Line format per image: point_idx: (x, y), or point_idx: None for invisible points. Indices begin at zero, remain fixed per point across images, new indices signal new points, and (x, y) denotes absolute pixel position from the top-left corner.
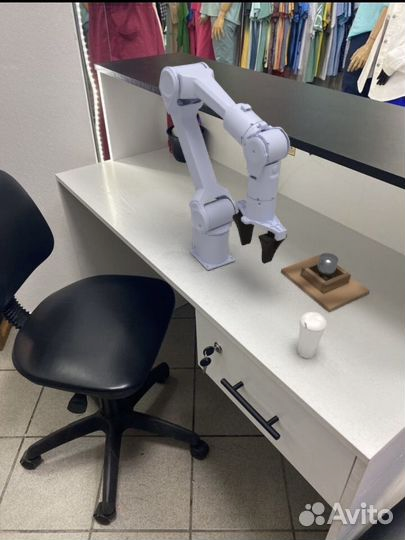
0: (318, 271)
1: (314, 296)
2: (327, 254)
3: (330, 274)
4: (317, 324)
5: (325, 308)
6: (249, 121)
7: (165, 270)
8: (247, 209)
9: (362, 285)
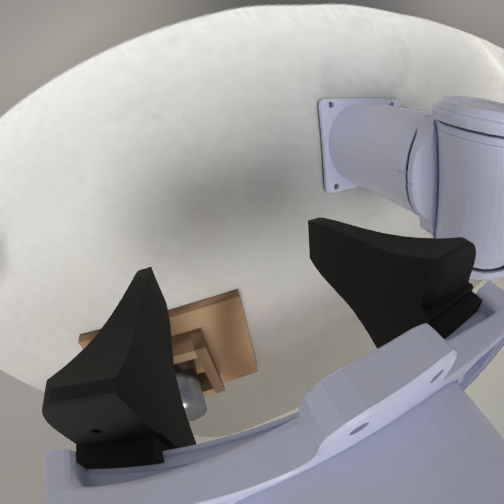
0: (175, 372)
1: None
2: (200, 412)
3: None
4: None
5: (88, 334)
6: None
7: (353, 11)
8: (467, 485)
9: None
